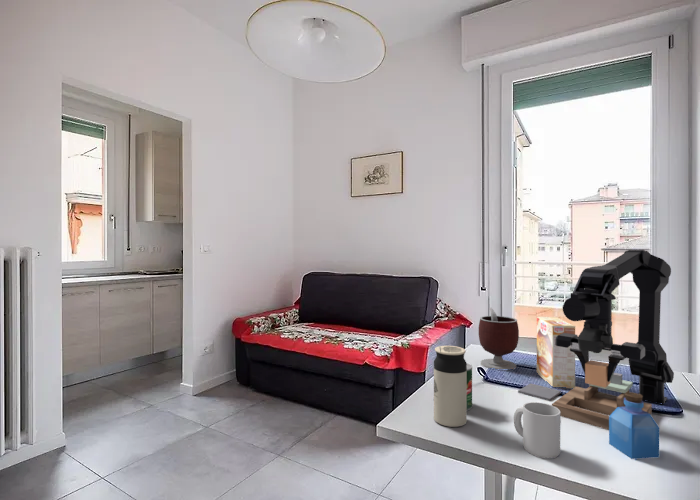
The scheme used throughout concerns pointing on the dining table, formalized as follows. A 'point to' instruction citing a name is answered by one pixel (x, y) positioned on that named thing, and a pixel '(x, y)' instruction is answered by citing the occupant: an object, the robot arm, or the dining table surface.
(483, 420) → the dining table surface
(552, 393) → the mat
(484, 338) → the mate gourd
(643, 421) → the perfume bottle
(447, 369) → the travel mug
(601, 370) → the block
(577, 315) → the robot arm
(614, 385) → the lid
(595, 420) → the puzzle board
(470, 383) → the canned tomato
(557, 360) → the coffeecake box
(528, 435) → the cup
